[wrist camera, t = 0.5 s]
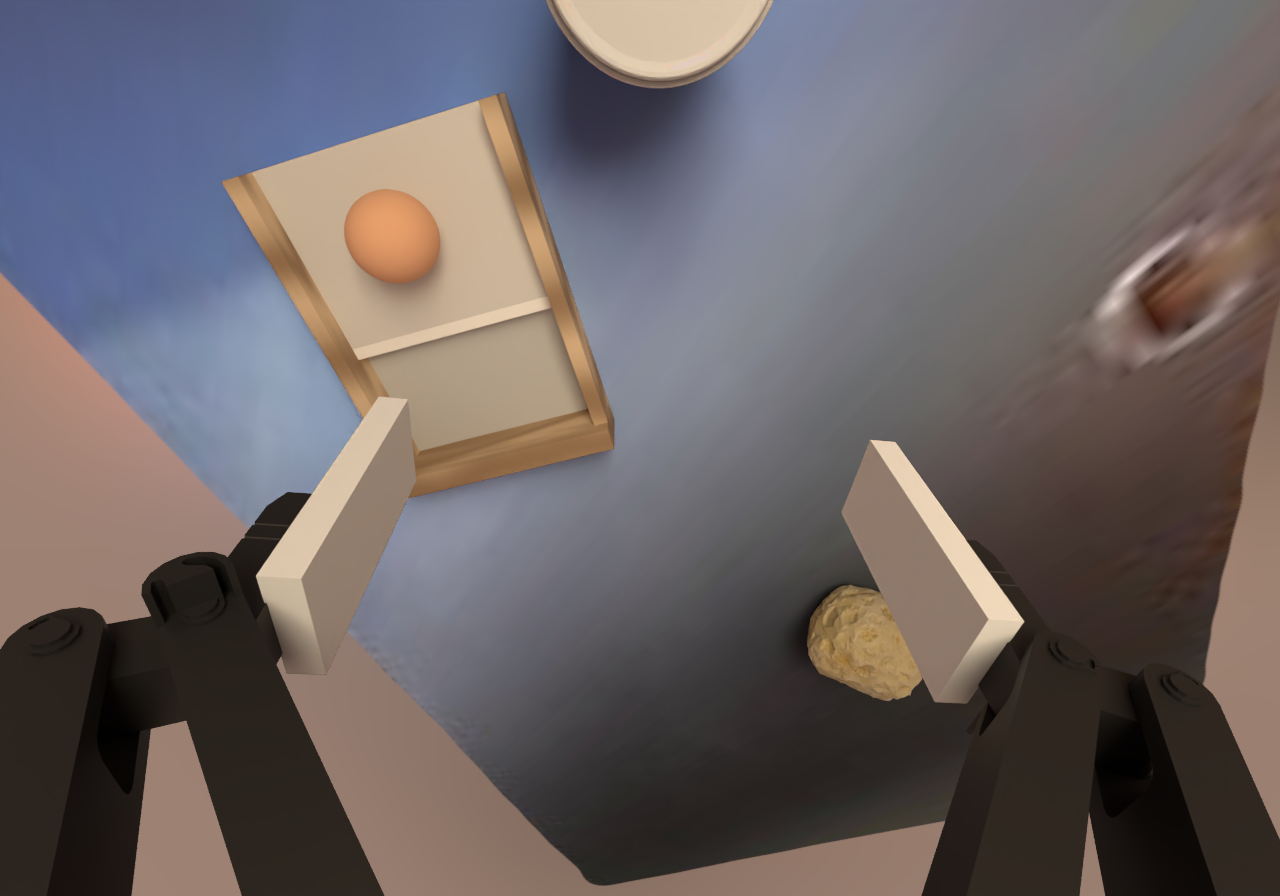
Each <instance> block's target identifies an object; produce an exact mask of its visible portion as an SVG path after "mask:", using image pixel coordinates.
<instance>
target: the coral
mask: <svg viewBox="0 0 1280 896" xmlns="http://www.w3.org/2000/svg"><path fill="white" fill-rule="evenodd" d="M807 643H808V644H807V646H808V655H809V656H810V659H811V661H812V663H813V665H814V666H815V667H816V669H817V670H818V671H819V673H820V674H822V675H825V676H827V677H829V678H832V679H835V680H837V681H839V682H840V683H844V684H847V685H848V686H850V687H852V688H854V689H856V690H858V691H861V692H863V693H866V694H868V695H870V696H872V697H873V698H879V699H881V700H885V701H890V700H891V699H893V698H895V699H899V698H903V697H906V696H907V695H911V691H912V690H913V688H914V687H915V686H916V685H918V684H919V682H920V681H921V680H922V675H921V673H920V671H919V669H918V667H917V665H916V663H915V661H914V659H913V657H912V655H911V653H910V651H909V649H908V647H907V645H906V643H905V641H904V639H903V637H902V634H901V632H900V630H899V628H898V626H897V624H896V622H895V620H894V618H893V616H892V614H891V612H890V610H889V608H888V606H887V604H886V602H885V600H884V598H883V596H882V594H881V593H880V592H877V591H874V590H872V589H870V588H861V587H856V586H852V585H848V586H841V587H839V588H837V589H836V590H834V591H833V592H831V593H830V595H829V596H828V597H826V598H825V599H824V600H823V601H822V603H821V604H820V605H819V606H818V607H817V609H816V610H815V611H814V613H813V615H812V617H811V618H810V625H809V633H808V640H807Z"/></svg>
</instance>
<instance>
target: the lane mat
mask: <svg viewBox="0 0 1280 896" xmlns="http://www.w3.org/2000/svg"><path fill="white" fill-rule="evenodd" d="M252 174H253V175H254V177H255V179H256V181H257V182H258V184H259V186H260V188H261V189H262V191H263V193H264V195H265V196H266V198H267V200H268V202H269V204H270V205H271V207H272V209H273V211H274V212H275V214H276V216H277V218H278V219H279V221H280V223H281V225H282V226H283V228H284V230H285V232H286V233H287V235H288V237H289V239H290V240H291V242H292V244H293V246H294V247H295V249H296V251H297V253H298V254H299V256H300V258H301V260H302V261H303V263H304V265H305V267H306V268H307V270H308V272H309V274H310V276H311V277H312V279H313V281H314V283H315V284H316V286H317V288H318V290H319V291H320V293H321V295H322V297H323V298H324V300H325V302H326V304H327V305H328V307H329V309H330V311H331V312H332V314H333V316H334V318H335V319H336V321H337V323H338V325H339V326H340V328H341V330H342V332H343V333H344V335H345V337H346V339H347V340H348V342H349V344H350V346H351V348H352V349H353V351H354V353H355V355H356V356H357V358H358V360H361V359H365V358H368V359H369V361H370V363H371V365H372V366H373V368H374V370H375V372H376V373H377V375H378V377H379V379H380V381H381V382H382V384H383V386H384V388H385V390H386V391H387V393H388V395H389V397H390V398H400V399H408V403H409V413H410V423H411V433H412V438H413V440H414V441H415V443H416V445H417V447H418V449H419V450H420V451H422V450H426V449H430V448H434V447H438V446H442V445H446V444H450V443H454V442H458V441H462V440H466V439H470V438H474V437H478V436H482V435H486V434H490V433H494V432H498V431H502V430H506V429H510V428H514V427H518V426H522V425H526V424H530V423H534V422H538V421H542V420H546V419H550V418H554V417H558V416H562V415H566V414H570V413H574V412H578V411H582V410H586V409H588V407H587V404H586V401H585V399H584V396H583V393H582V390H581V387H580V385H579V382H578V379H577V376H576V373H575V371H574V368H573V365H572V362H571V359H570V357H569V354H568V351H567V348H566V345H565V343H564V340H563V337H562V334H561V331H560V329H559V326H558V323H557V320H556V317H555V315H554V312H553V309H552V306H551V303H550V301H549V298H548V295H547V292H546V289H545V287H544V284H543V281H542V278H541V275H540V273H539V270H538V267H537V264H536V261H535V259H534V256H533V253H532V250H531V247H530V245H529V242H528V239H527V236H526V233H525V231H524V228H523V225H522V222H521V219H520V217H519V214H518V211H517V208H516V205H515V203H514V200H513V197H512V194H511V191H510V189H509V186H508V183H507V180H506V177H505V175H504V172H503V169H502V166H501V163H500V161H499V158H498V155H497V152H496V149H495V147H494V144H493V141H492V138H491V135H490V133H489V130H488V127H487V124H486V121H485V119H484V116H483V113H482V110H481V107H480V105H479V102H478V101H476V102H472V103H469V104H466V105H463V106H460V107H457V108H453V109H450V110H447V111H444V112H441V113H438V114H434V115H431V116H428V117H425V118H422V119H419V120H416V121H412V122H409V123H406V124H403V125H400V126H397V127H393V128H390V129H387V130H384V131H381V132H378V133H374V134H371V135H368V136H365V137H362V138H359V139H356V140H352V141H349V142H346V143H343V144H340V145H337V146H333V147H330V148H327V149H324V150H321V151H318V152H314V153H311V154H308V155H305V156H302V157H299V158H296V159H292V160H289V161H286V162H283V163H280V164H277V165H273V166H270V167H267V168H264V169H261V170H258V171H254V172H252ZM380 189H391V190H397V191H401V192H404V193H407V194H409V195H411V196H412V197H414V198H416V199H417V200H418V201H420V202H421V203H422V204H423V205H424V206H425V207H426V208H427V209H428V210H429V212H430V213H431V214H432V216H433V218H434V220H435V222H436V224H437V227H438V229H439V234H440V250H439V255H438V258H437V260H436V262H435V264H434V265H433V267H432V268H431V269H430V270H429V272H428V273H426V274H425V275H424V276H422V277H421V278H419V279H417V280H414V281H412V282H408V283H400V284H398V283H388V282H384V281H381V280H379V279H376V278H374V277H372V276H371V275H369V274H368V273H366V272H365V271H364V270H363V269H361V268H360V267H359V265H358V264H357V263H356V262H355V261H354V259H353V258H352V256H351V254H350V253H349V250H348V248H347V245H346V242H345V237H344V224H345V219H346V216H347V213H348V211H349V210H350V208H351V206H352V205H353V204H354V203H355V201H357V200H358V199H359V198H360V197H361V196H363V195H365V194H366V193H369V192H372V191H375V190H380Z"/></svg>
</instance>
